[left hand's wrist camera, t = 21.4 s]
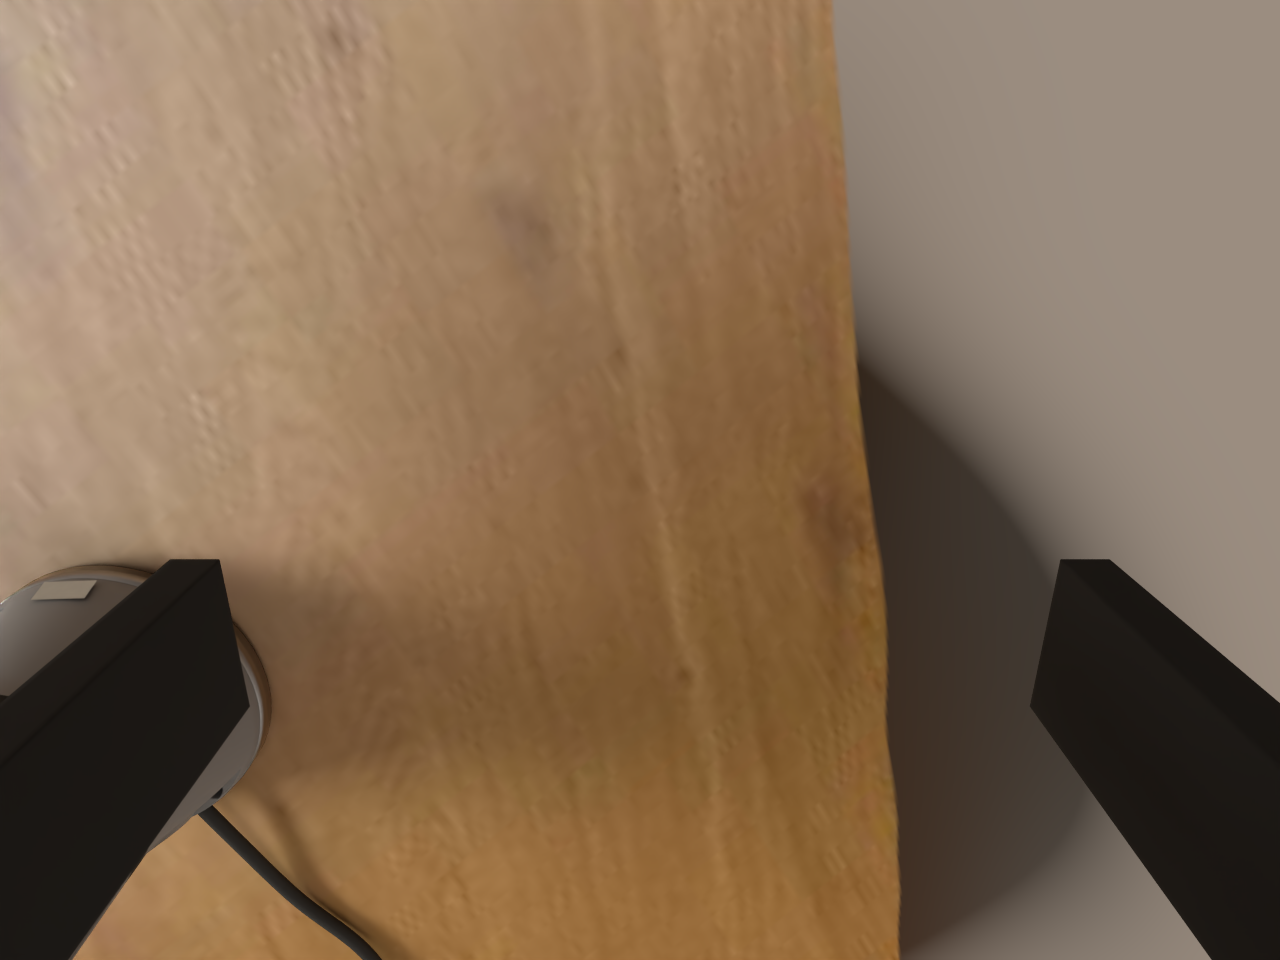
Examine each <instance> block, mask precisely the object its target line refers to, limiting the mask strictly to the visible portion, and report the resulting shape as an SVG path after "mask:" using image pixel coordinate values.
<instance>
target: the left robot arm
mask: <svg viewBox="0 0 1280 960" xmlns="http://www.w3.org/2000/svg"><path fill="white" fill-rule="evenodd" d="M1030 707H1031V708H1032V710H1033V711H1034V713H1035V714H1036V715H1037V717H1038V718H1039V720H1040V721H1041V722H1042V724H1043V725H1044V727H1045V728H1046V729H1047V731H1048V732H1049V734H1050V735H1051V736H1052V738H1053V739H1054V741H1055V742H1056V743H1057V745H1058V746H1059V748H1060V749H1061V750H1062V752H1063V753H1064V754H1065V756H1066V757H1067V759H1068V760H1069V761H1070V763H1071V764H1072V766H1073V767H1074V768H1075V770H1076V771H1077V773H1078V774H1079V775H1080V777H1081V778H1082V780H1083V781H1084V782H1085V784H1086V785H1087V787H1088V788H1089V789H1090V791H1091V792H1092V794H1093V795H1094V796H1095V798H1096V799H1097V800H1098V802H1099V803H1100V805H1101V806H1102V807H1103V809H1104V810H1105V811H1106V813H1107V814H1108V816H1109V817H1110V819H1111V820H1112V821H1113V823H1114V824H1115V826H1116V827H1117V828H1118V830H1119V831H1120V833H1121V834H1122V835H1123V837H1124V838H1125V839H1126V841H1127V842H1128V844H1129V845H1130V846H1131V848H1132V849H1133V851H1134V852H1135V853H1136V855H1137V856H1138V858H1139V859H1140V860H1141V862H1142V863H1143V865H1144V866H1145V867H1146V869H1147V870H1148V872H1149V873H1150V874H1151V876H1152V877H1153V879H1154V880H1155V881H1156V883H1157V884H1158V886H1159V887H1160V888H1161V890H1162V891H1163V892H1164V894H1165V895H1166V897H1167V898H1168V899H1169V901H1170V902H1171V904H1172V905H1173V906H1174V908H1175V909H1176V911H1177V912H1178V913H1179V915H1180V916H1181V918H1182V919H1183V920H1184V922H1185V923H1186V925H1187V926H1188V927H1189V929H1190V930H1191V931H1192V933H1193V934H1194V936H1195V937H1196V938H1197V940H1198V941H1199V943H1200V944H1201V945H1202V947H1203V948H1204V950H1205V951H1206V952H1207V954H1208V955H1209V957H1210V958H1211V959H1212V960H1280V703H1279V702H1278V701H1277V700H1275V699H1274V698H1273V697H1272V696H1271V695H1270V694H1268V693H1267V692H1266V691H1265V690H1264V689H1262V688H1261V687H1260V686H1259V685H1258V684H1257V683H1255V682H1254V681H1253V680H1252V679H1251V678H1249V677H1248V676H1247V675H1246V674H1245V673H1243V672H1242V671H1241V670H1240V669H1239V668H1238V667H1236V666H1235V665H1234V664H1233V663H1232V662H1230V661H1229V660H1228V659H1227V658H1226V657H1225V656H1223V655H1222V654H1221V653H1220V652H1219V651H1217V650H1216V649H1215V648H1214V647H1213V646H1212V645H1210V644H1209V643H1208V642H1207V641H1206V640H1204V639H1203V638H1202V637H1201V636H1200V635H1199V634H1197V633H1196V632H1195V631H1194V630H1193V629H1191V628H1190V627H1189V626H1188V625H1187V624H1185V623H1184V622H1183V621H1182V620H1181V619H1179V618H1178V617H1177V616H1176V615H1175V614H1174V613H1172V612H1171V611H1170V610H1169V609H1168V608H1166V607H1165V606H1164V605H1163V604H1162V603H1161V602H1159V601H1158V600H1157V599H1156V598H1155V597H1153V596H1152V595H1151V594H1150V593H1149V592H1148V591H1146V590H1145V589H1144V588H1143V587H1142V586H1140V585H1139V584H1138V583H1137V582H1136V581H1135V580H1133V579H1132V578H1131V577H1130V576H1129V575H1127V574H1126V573H1125V572H1124V571H1123V570H1122V569H1120V568H1119V567H1118V566H1117V565H1116V564H1114V563H1113V562H1112V561H1111V560H1109V559H1061V560H1060V565H1059V569H1058V574H1057V579H1056V584H1055V589H1054V593H1053V598H1052V603H1051V608H1050V613H1049V618H1048V622H1047V627H1046V632H1045V637H1044V641H1043V646H1042V651H1041V656H1040V661H1039V665H1038V670H1037V675H1036V680H1035V685H1034V689H1033V694H1032V699H1031V704H1030ZM270 720H271V696H270V689H269V685H268V681H267V677H266V674H265V672H264V669H263V666H262V664H261V662H260V660H259V658H258V656H257V654H256V653H255V651H254V649H253V648H252V646H251V645H250V643H249V642H248V640H247V639H246V638H245V636H244V635H243V634H242V633H241V631H240V630H239V629H238V628H237V627H236V626H235V625H234V624H233V622H232V617H231V613H230V608H229V603H228V598H227V593H226V588H225V584H224V579H223V574H222V569H221V564H220V560H219V559H170V560H169V561H168V562H167V563H166V564H164V565H163V566H162V567H161V568H160V569H158V570H157V571H156V572H155V573H154V574H150V573H147V572H144V571H139V570H135V569H130V568H124V567H116V566H101V565H95V566H80V567H73V568H67V569H63V570H59V571H55V572H52V573H50V574H47V575H44V576H42V577H40V578H38V579H36V580H34V581H32V582H30V583H29V584H27V585H26V586H24V587H22V588H21V589H20V590H18V591H17V592H15V593H14V594H12V595H11V596H9V597H8V598H6V599H5V600H4V601H3V602H1V603H0V960H72V959H73V958H74V957H75V955H76V954H77V952H78V951H79V949H80V948H81V946H82V945H83V944H84V942H85V941H86V939H87V938H88V936H89V935H90V933H91V932H92V931H93V929H94V928H95V926H96V925H97V923H98V922H99V920H100V919H101V918H102V916H103V915H104V913H105V912H106V910H107V909H108V907H109V906H110V905H111V903H112V902H113V900H114V899H115V897H116V896H117V894H118V893H119V892H120V890H121V889H122V887H123V886H124V884H125V883H126V882H127V880H128V879H129V877H130V876H131V875H132V873H133V872H134V870H135V869H136V868H137V866H138V865H139V863H140V862H141V861H142V859H143V858H144V856H145V855H146V854H147V853H148V852H149V851H150V850H152V849H153V848H155V847H156V846H157V845H159V844H160V843H161V842H163V841H164V840H165V839H167V838H168V837H169V836H171V835H172V834H173V833H174V832H176V831H177V830H178V829H179V828H181V827H182V826H183V825H184V824H185V823H186V822H187V821H188V820H189V819H190V818H191V817H192V816H194V815H197V814H198V815H199V816H200V817H201V818H202V819H203V820H204V821H205V822H206V823H207V824H208V825H209V826H210V827H211V828H212V829H213V830H214V831H215V832H216V833H217V834H218V835H219V836H220V837H221V838H223V839H224V840H225V841H226V842H227V843H228V844H229V845H230V846H231V847H232V848H233V849H234V850H235V851H236V852H237V853H238V854H239V855H240V856H241V857H242V858H243V859H244V860H245V861H246V862H247V863H248V864H249V865H250V866H251V867H252V868H253V869H254V870H255V871H257V872H258V873H259V874H260V875H261V876H262V877H263V878H264V879H265V880H266V881H267V882H268V883H269V884H270V885H271V886H272V887H273V888H274V889H275V890H277V891H278V892H279V893H280V894H281V895H282V896H283V897H284V898H285V899H287V900H288V901H289V902H290V903H291V904H292V905H294V906H295V907H296V908H297V909H299V910H300V911H301V912H302V913H304V914H305V915H306V916H308V917H309V918H310V919H312V920H313V921H315V922H316V923H317V924H319V925H320V926H322V927H323V928H324V929H326V930H327V931H329V932H330V933H331V934H333V935H334V936H336V937H337V938H338V939H340V940H341V941H342V942H343V943H345V944H346V945H347V946H349V947H350V948H351V949H352V950H353V951H354V952H355V953H356V954H357V955H359V956H360V957H361V958H362V959H363V960H382V959H381V958H380V957H379V956H378V954H377V953H376V952H375V951H374V950H373V949H372V948H371V946H370V945H368V944H367V943H366V942H365V941H364V940H363V939H362V938H361V937H360V936H359V935H358V934H356V933H355V932H354V931H353V930H351V929H350V928H349V927H348V926H346V925H345V924H344V923H342V922H341V921H339V920H338V919H337V918H335V917H334V916H332V915H331V914H330V913H328V912H327V911H325V910H324V909H323V908H321V907H320V906H319V905H317V904H316V903H315V902H313V901H312V900H311V899H309V898H308V897H307V896H306V895H304V894H303V893H302V892H301V891H300V890H299V889H298V888H296V887H295V886H294V885H293V884H292V883H291V882H290V881H289V880H288V879H287V878H285V877H284V876H283V875H282V874H281V873H280V872H279V871H278V870H277V869H276V868H275V867H274V866H273V865H272V864H271V863H270V862H269V861H268V860H267V859H266V858H265V857H264V856H263V855H262V854H261V853H260V852H259V851H258V850H257V849H256V848H255V847H254V846H253V845H252V844H251V843H250V842H249V841H248V840H247V839H246V838H245V837H244V836H243V835H242V834H241V833H240V832H239V831H238V830H237V829H236V828H235V827H234V826H233V825H232V824H231V823H230V822H229V821H228V820H227V819H226V818H225V817H224V816H223V815H222V814H221V813H220V812H219V811H218V810H217V809H216V808H215V807H214V806H213V804H214V803H216V802H217V801H218V800H220V799H221V798H222V797H223V796H224V795H225V794H226V793H227V792H229V791H230V790H231V788H232V787H233V786H234V785H235V784H236V783H237V782H238V781H239V780H240V779H241V778H242V776H243V775H244V774H245V772H246V771H247V770H248V768H249V767H250V765H251V764H252V762H253V761H254V759H255V758H256V756H257V754H258V753H259V751H260V749H261V748H262V746H263V744H264V742H265V739H266V736H267V734H268V730H269V726H270Z"/></svg>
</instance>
